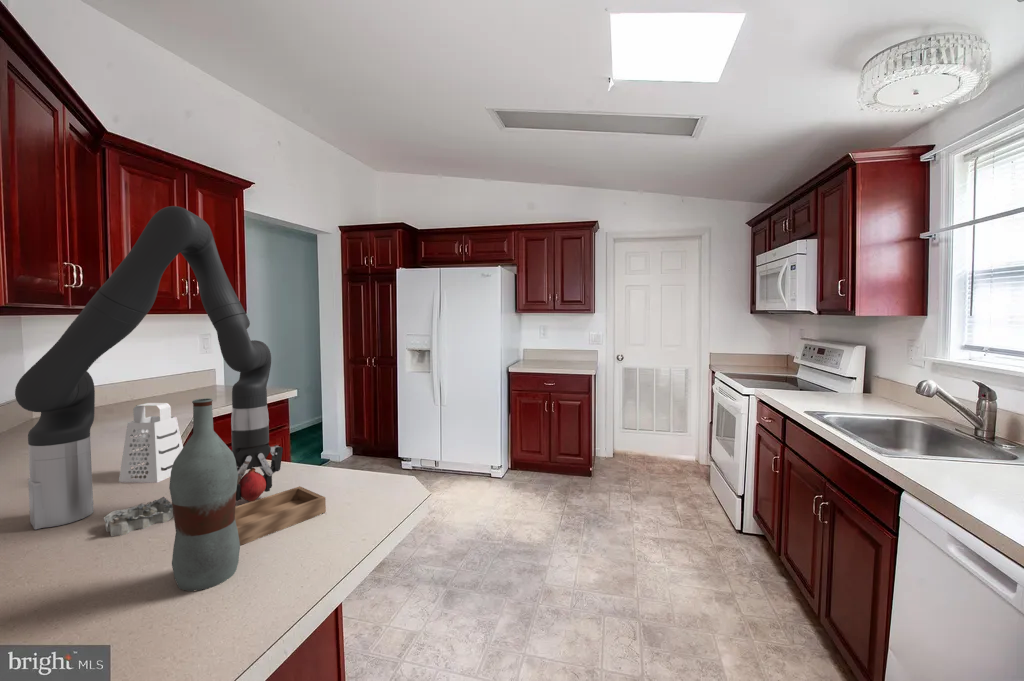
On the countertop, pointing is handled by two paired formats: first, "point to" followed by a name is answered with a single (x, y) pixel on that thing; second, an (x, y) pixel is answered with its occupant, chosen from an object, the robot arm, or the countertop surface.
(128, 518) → the egg carton
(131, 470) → the grater
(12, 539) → the countertop surface
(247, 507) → the wooden tray
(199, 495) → the bottle
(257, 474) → the onion
